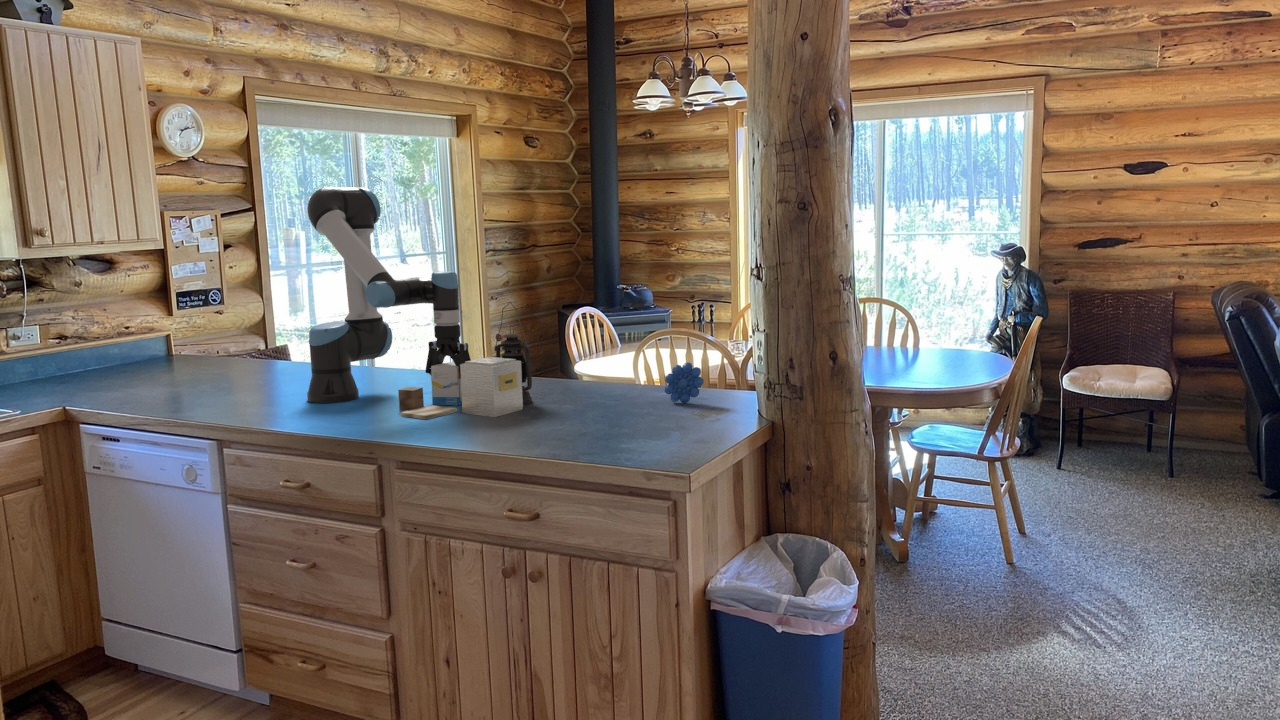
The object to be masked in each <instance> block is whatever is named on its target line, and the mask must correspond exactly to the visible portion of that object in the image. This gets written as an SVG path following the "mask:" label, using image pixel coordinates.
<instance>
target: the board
mask: <svg viewBox="0 0 1280 720" xmlns="http://www.w3.org/2000/svg"><path fill="white" fill-rule="evenodd" d="M457 412H458V408H457V407H452V406H445V405H433V404H430V405H426V406H424V407H421V408H417V409H413V410H409V411H405V410H404V411H401V412H400V416H401V417H405V418H406V417H407V418H414V419H421V420H428V419H434V418H438V417H443V416H445V415H450V414H453V413H457Z"/></svg>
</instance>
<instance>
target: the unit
mask: <svg viewBox="0 0 1280 720" xmlns="http://www.w3.org/2000/svg"><path fill="white" fill-rule="evenodd" d="M460 372H461V392H462V404H461V408H462V409H461V410H462V414H467V415H472V416H473V415H474V416H483V417H490V418H497V417H501V416H504V415H508V414H511V413H515V412H519V411H522V410H524V405H523V397H522V386H523V384H522V372H521V361H516V359H509V358H502V357H500V358H497V357H496V356H495V357H493V356H486V357H483V358H482V357H481V358H476V359H472V360H471V361H466V362H465V363H463V364H460Z"/></svg>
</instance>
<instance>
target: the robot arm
mask: <svg viewBox="0 0 1280 720" xmlns="http://www.w3.org/2000/svg"><path fill="white" fill-rule="evenodd" d="M381 212H382V210H381V204H380V200H379V199H378V197H377V195H376V194H375V193H374V192H373V191H372V190H370V189H369V188H366V187H359V186H340V187H339V186H324V187H321V188H319V189H317V190H316V191H315V192H313V194H312V195H311V197H310V198H309V200H308V203H307V217H308V219H309V221H310V223H311V226H312V227H313V228H314V230H315V231H316V232H317V233H318V234H319V235H321V236H324V237H326V238H327V240H328V241H329V243H330V244H331V245H332V246H333V248H335V250H336V251H337V253H339V255H340V256H341V258H342V259H343V264H344V273H345V285H346V294H347V295H346V296H347V305H348V306H347V307H348V314H347V316H345V318H344V320H342V321H341V320H340V321H338V320H336V321H330V322H324V323H320V324H317V325H316V324H315V325H314V326H312V327H311V328H310V329H309V331H308V333H309V335H308V343H309V352H310V353H309V355H310V356H309V357H310V368H311V369H310V370H311V376H310V377H311V378H310V381H309V385H308V391H307V393H306V394H307V396H306V399H307V401H308V402H309V403H312V404H313V403H315V404H333V403H342V402H348V401H353V400H355V399H356V400H357V399H358V398H359V397H360V395H359V393H360V392H359V389H358V387H357V384H356V381H355V379H354V377H353V373H352V367H351V366H352V363H353V362H360V361H365V360H375V359H377V358H381V357H383V356H385V355H386V354H387V353H388V352H389V350H390V348H391V346H392V343H393V332H392V329H391V327H389V324H388V323H387V322H386V321H384V318H383V315H382V314H381V313H380V312H379V311H378V309H379V308H384V309H386V308H390V307H398V306H407V305H416V304H417V305H418V304H432V309H433V323H434V324H435V325H434V328H433V329H434V338H435V339H436V340H433V341H429V342H428V353H427V359H426V365H425V369H424V370H425V371H424V372H425V373H426V374H429V375H430V376H431V366H434V365H437V364H442V363H444V361H445V359H446V357H450V359H452V360H453V361H452V362H454V363H455V365H456V366H458V367H459V374H460V376H461V372H460V364H463V363H465V362H466V361H471V357H470V352H469V343H467V342H465V343H463V342H460V337H461V335H462V333H461V325H460V324H459V323H460V322H461V318H460V314H461V313H460V299H459V286H460V285H459V280H458V279H459V278H458V274H457V272H455V271H449V270H448V271H434V272H432V273H431V278H430V277H429V278H427V277H426V278H425V277H419V276H418V277H409V278H405V279H394V278H393V276H392V275H391V274H390V273H389V271H388V270H387V269H386V268H385V266H384V265H383V264H382V263H381V262H380V261H379V260H378V258H377V257H376V255H374V253H372V252H373V251H372V242H371V241H372V240H371V234H372V233H373V232H374V231H375V224H376V223H377V222H379V220H380V217H381ZM430 378H431V377H430ZM430 381H431V382H432V378H431V379H430ZM459 386H460V401H462V392H461V377H460V379H459Z"/></svg>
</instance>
